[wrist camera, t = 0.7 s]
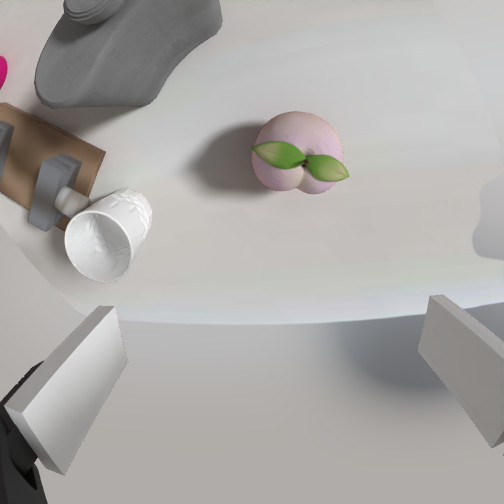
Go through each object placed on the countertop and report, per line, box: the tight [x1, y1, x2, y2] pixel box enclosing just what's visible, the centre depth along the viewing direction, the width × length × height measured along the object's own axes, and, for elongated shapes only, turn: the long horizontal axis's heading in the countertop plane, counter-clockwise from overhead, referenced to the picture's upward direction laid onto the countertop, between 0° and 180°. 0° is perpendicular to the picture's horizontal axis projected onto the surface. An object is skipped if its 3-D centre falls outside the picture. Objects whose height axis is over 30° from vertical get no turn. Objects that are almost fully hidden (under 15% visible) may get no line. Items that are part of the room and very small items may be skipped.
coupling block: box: [0, 103, 106, 232], centre depth 28 cm, size 12×23×6 cm, turn 59°
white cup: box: [64, 189, 152, 283], centre depth 31 cm, size 8×8×10 cm
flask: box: [34, 0, 222, 109], centre depth 18 cm, size 15×6×20 cm, turn 137°
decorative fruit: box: [252, 111, 349, 194], centre depth 28 cm, size 9×8×10 cm
